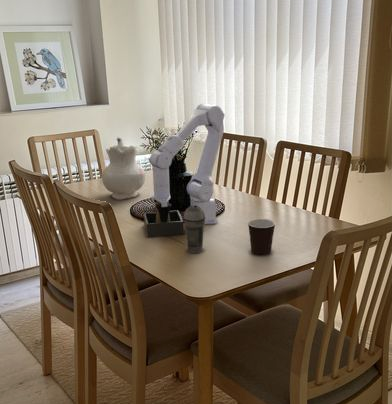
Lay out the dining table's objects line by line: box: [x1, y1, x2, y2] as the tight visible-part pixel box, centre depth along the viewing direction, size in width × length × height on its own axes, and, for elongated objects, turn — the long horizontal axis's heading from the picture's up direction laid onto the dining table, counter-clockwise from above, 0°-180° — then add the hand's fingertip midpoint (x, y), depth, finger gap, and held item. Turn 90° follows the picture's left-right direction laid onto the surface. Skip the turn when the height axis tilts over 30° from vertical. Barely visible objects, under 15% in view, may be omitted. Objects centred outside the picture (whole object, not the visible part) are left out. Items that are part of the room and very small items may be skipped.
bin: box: [143, 209, 185, 238], centre depth 202 cm, size 13×13×5 cm
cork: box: [154, 201, 170, 223], centre depth 201 cm, size 6×6×11 cm
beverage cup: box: [182, 192, 205, 254], centre depth 180 cm, size 7×7×20 cm
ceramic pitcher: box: [101, 136, 146, 201], centre depth 244 cm, size 22×20×25 cm
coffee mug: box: [248, 218, 276, 257], centre depth 180 cm, size 12×9×10 cm
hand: (163, 220), depth 202 cm, fingers open, 5 cm apart
